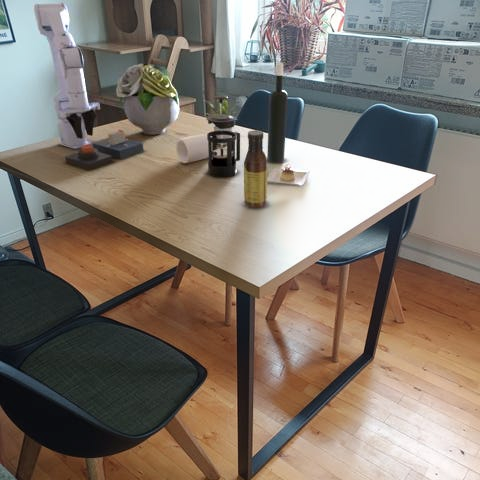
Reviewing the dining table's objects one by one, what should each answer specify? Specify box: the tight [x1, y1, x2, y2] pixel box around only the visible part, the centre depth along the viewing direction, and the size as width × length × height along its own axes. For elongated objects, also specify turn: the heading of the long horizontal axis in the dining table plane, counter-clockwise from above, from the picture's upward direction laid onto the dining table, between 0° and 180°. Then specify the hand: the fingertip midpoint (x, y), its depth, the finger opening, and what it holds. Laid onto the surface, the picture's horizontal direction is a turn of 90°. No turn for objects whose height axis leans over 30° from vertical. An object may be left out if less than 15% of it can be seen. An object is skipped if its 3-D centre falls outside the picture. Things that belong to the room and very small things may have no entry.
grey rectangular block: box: [107, 129, 126, 145], centre depth 173 cm, size 6×2×4 cm, turn 143°
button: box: [80, 144, 93, 153], centre depth 163 cm, size 4×4×2 cm
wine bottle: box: [266, 62, 289, 164], centre depth 160 cm, size 6×6×30 cm
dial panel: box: [91, 137, 145, 160], centre depth 175 cm, size 14×11×3 cm
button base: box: [64, 148, 114, 171], centre depth 165 cm, size 12×10×4 cm
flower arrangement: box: [115, 63, 180, 136], centre depth 188 cm, size 25×25×24 cm
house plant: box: [203, 99, 237, 146], centre depth 180 cm, size 14×14×16 cm
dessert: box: [267, 164, 310, 187], centre depth 153 cm, size 12×12×5 cm
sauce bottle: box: [243, 129, 268, 209], centre depth 132 cm, size 6×6×20 cm
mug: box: [175, 133, 209, 164], centre depth 167 cm, size 12×10×8 cm
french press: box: [206, 95, 241, 179], centre depth 152 cm, size 12×9×23 cm
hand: (84, 136), depth 161 cm, fingers open, 3 cm apart
